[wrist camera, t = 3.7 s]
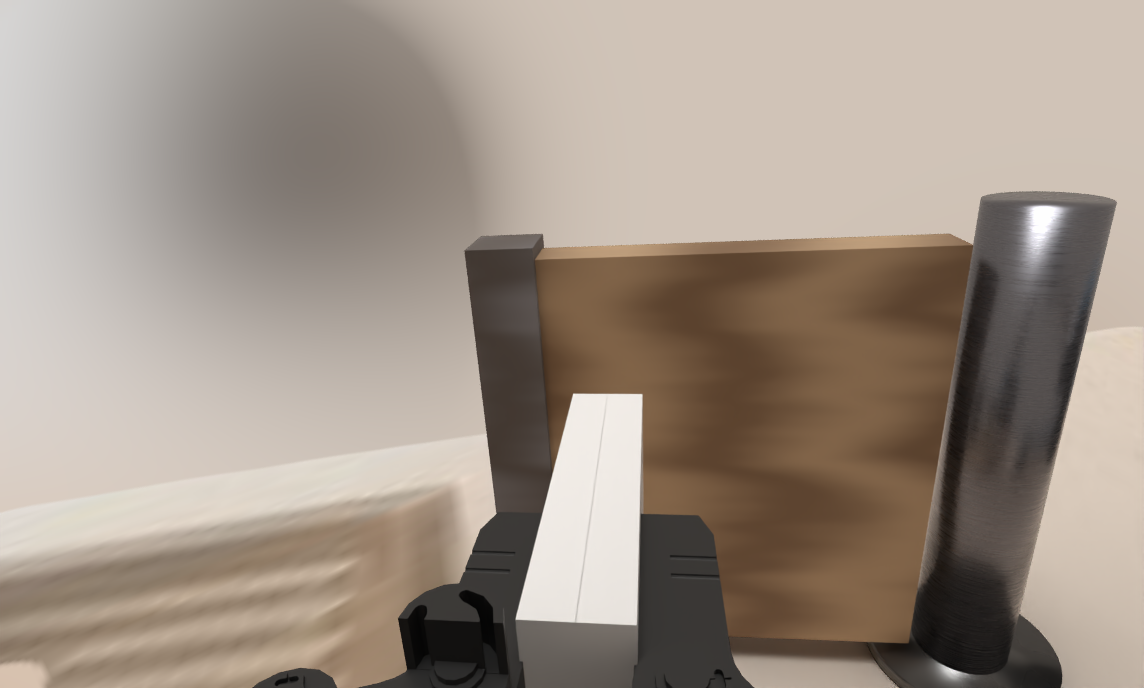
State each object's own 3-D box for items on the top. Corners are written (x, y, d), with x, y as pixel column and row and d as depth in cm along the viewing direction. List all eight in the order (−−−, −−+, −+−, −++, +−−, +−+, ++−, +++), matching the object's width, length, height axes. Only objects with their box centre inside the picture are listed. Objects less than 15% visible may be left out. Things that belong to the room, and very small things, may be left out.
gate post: (892, 570, 27) (948, 181, 22) (1068, 637, 24) (1193, 188, 18) (841, 663, 23) (893, 211, 17) (1046, 763, 19) (1199, 229, 14)
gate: (890, 606, 24) (948, 218, 19) (911, 649, 22) (980, 232, 17) (521, 594, 26) (481, 236, 21) (510, 633, 24) (464, 250, 19)
